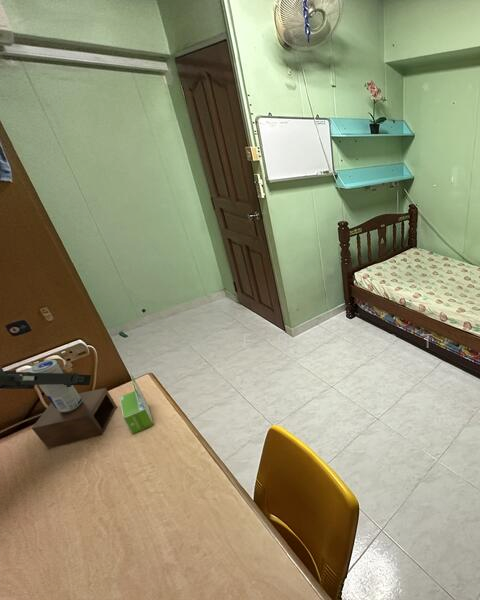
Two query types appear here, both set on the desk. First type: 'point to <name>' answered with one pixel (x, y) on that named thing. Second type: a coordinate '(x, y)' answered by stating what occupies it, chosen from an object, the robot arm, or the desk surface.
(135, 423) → the ink box
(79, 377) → the robot arm
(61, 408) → the beverage can
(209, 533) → the desk surface
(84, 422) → the walnut shelf
